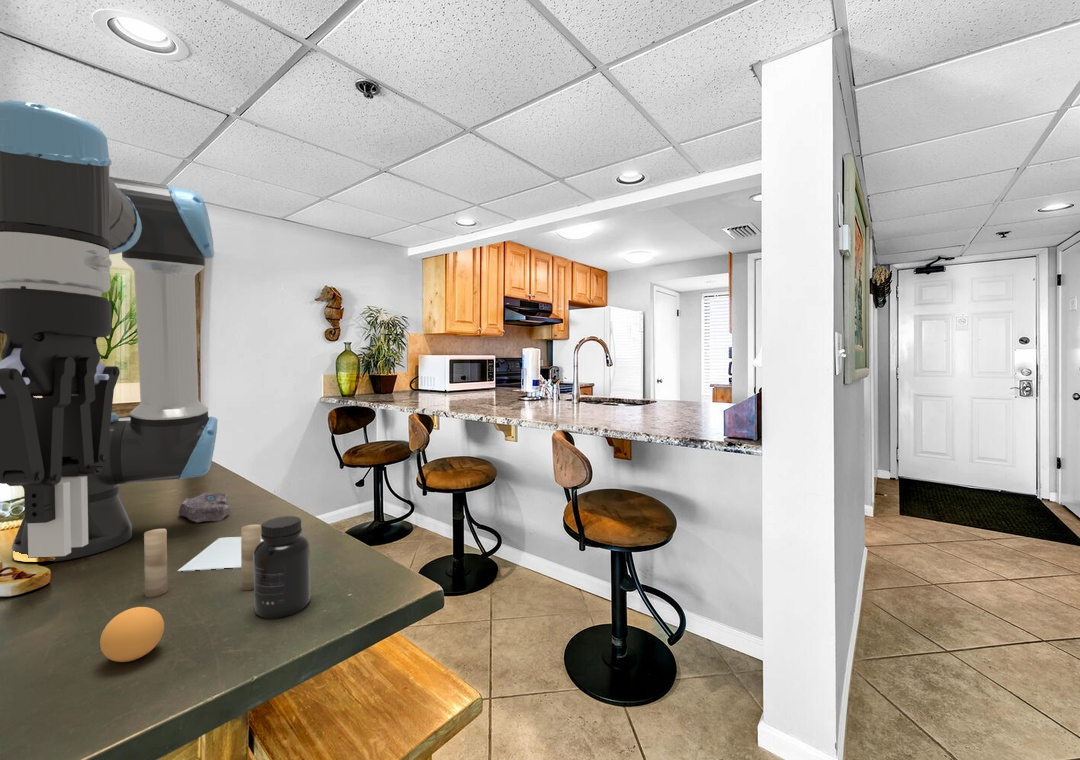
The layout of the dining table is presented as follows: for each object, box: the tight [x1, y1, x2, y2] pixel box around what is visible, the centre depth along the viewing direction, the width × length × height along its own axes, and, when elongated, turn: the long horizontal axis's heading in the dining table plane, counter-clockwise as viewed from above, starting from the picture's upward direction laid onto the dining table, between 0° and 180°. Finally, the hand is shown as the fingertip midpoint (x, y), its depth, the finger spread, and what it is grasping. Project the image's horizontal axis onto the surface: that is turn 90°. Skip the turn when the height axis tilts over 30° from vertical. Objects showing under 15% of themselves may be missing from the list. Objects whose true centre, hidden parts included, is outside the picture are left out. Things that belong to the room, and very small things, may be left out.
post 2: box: [240, 524, 262, 591], centre depth 70 cm, size 2×2×9 cm
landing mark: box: [177, 536, 263, 573], centre depth 83 cm, size 14×14×1 cm
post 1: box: [143, 528, 168, 598], centre depth 67 cm, size 2×2×9 cm
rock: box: [178, 492, 231, 524], centre depth 100 cm, size 8×11×5 cm
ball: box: [99, 606, 165, 663], centre depth 53 cm, size 6×6×6 cm
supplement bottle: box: [253, 515, 311, 619], centre depth 64 cm, size 7×7×12 cm
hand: (59, 550), depth 43 cm, fingers closed
